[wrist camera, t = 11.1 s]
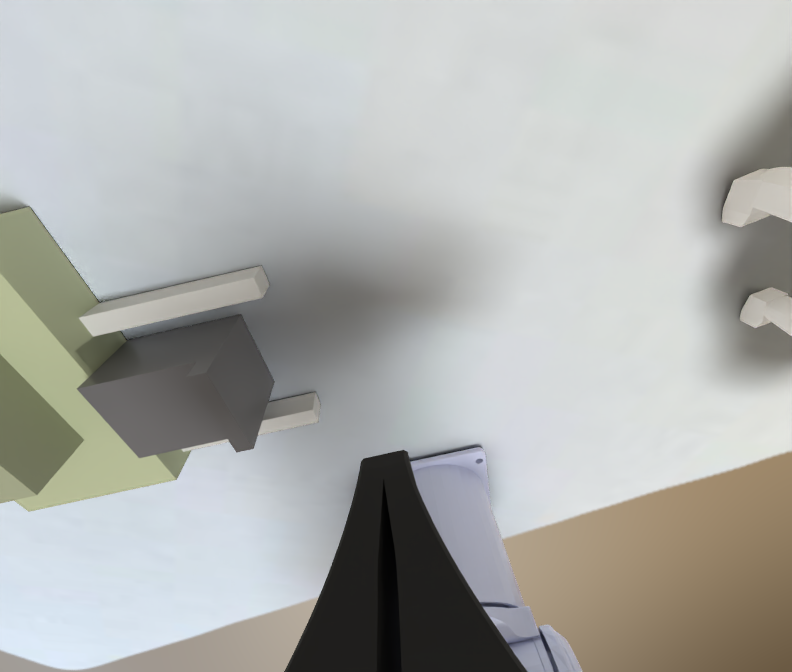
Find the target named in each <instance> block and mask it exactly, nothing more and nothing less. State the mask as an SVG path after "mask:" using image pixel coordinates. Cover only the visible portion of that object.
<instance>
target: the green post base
mask: <svg viewBox="0 0 792 672" xmlns="http://www.w3.org/2000/svg"><path fill="white" fill-rule="evenodd" d="M269 285H270V284H269V282H268V279H267V277H266V275H265V272H264V270H263V268H262V266H258V267H253V268H249V269H245V270H240V271H236V272H232V273H227V274H223V275H219V276H214V277H210V278H206V279H201V280H197V281H193V282H188V283H184V284H180V285H175V286H171V287H167V288H162V289H158V290H154V291H149V292H145V293H141V294H136V295H132V296H128V297H123V298H119V299H115V300H110V301H106V302H102V303H99V302H98V300H97V299H96V297H95V296H94V295H93V293H92V292H91V291H90V289H89V288H88V286H87V285H86V284H85V282H84V281H83V280H82V278H81V277H80V275H79V274H78V273H77V271H76V270H75V269H74V267H73V266H72V264H71V263H70V262H69V260H68V259H67V258H66V256H65V255H64V253H63V252H62V251H61V249H60V248H59V247H58V245H57V244H56V243H55V241H54V240H53V238H52V237H51V236H50V234H49V233H48V232H47V230H46V229H45V227H44V226H43V225H42V223H41V222H40V221H39V219H38V218H37V216H36V215H35V214H34V212H33V211H32V210H31V208H30V207H26V208H22V209H18V210H14V211H10V212H5V213H1V214H0V503H4V502H9V501H13V500H14V501H15V502H17V503H18V504H19V505H21V506H22V507H23V508H25V509H26V510H27V511H34V510H39V509H43V508H48V507H53V506H57V505H62V504H66V503H71V502H76V501H80V500H85V499H90V498H94V497H99V496H103V495H108V494H113V493H117V492H122V491H127V490H131V489H136V488H141V487H145V486H150V485H154V484H159V483H164V482H168V481H173V480H177V478H178V476H179V474H180V472H181V470H182V468H183V466H184V464H185V462H186V460H187V458H188V456H189V454H190V452H191V450H194V449H199V448H203V447H208V446H212V445H217V444H222V443H226V442H229V440H228V439H225V440H221V441H216V442H212V443H207V444H203V445H198V446H193V447H189V448H184V449H180V450H175V451H170V452H166V453H161V454H157V455H152V456H148V457H143V458H138V456H137V455H136V454H135V453H134V452H133V451H132V450H131V449H130V448H129V447H128V445H127V444H126V443H125V442H124V441H123V440H122V439H121V438H120V437H119V435H118V434H117V433H116V432H115V431H114V430H113V429H112V428H111V427H110V425H109V424H108V423H107V422H106V421H105V420H104V419H103V418H102V417H101V415H100V414H99V413H98V412H97V411H96V410H95V409H94V408H93V407H92V405H91V404H90V403H89V402H88V401H87V400H86V399H85V398H84V397H83V396H82V394H81V393H80V392H79V391H78V390H77V388H78V387H79V386H80V385H81V384H82V383H83V382H84V381H85V380H86V379H87V378H88V377H90V376H91V375H92V374H93V373H94V372H95V371H96V370H97V369H98V368H99V367H100V366H101V365H102V364H103V363H104V362H105V361H106V360H107V359H108V358H109V357H110V356H111V355H112V354H114V353H115V352H116V351H117V350H118V349H119V348H120V347H121V346H122V345H123V344H124V343H125V342H126V341H127V340H126V339H125V337H124V336H123V335H122V333H121V332H120V330H124V329H129V328H133V327H138V326H142V325H146V324H151V323H155V322H159V321H164V320H168V319H173V318H177V317H181V316H186V315H190V314H195V313H199V312H203V311H208V310H212V309H216V308H221V307H225V306H230V305H234V304H238V303H243V302H247V301H251V300H256V299H260V298H263V297H264V295H265V293H266V291H267V289H268V287H269ZM320 407H321V404H320V401H319V399H318V397H317V394H316V392H314V393H309V394H305V395H300V396H295V397H291V398H286V399H282V400H277V401H273V402H268V404H267V407H266V411H265V414H264V417H263V420H262V423H261V426H260V430H259V433H258V435H263V434H267V433H272V432H277V431H281V430H286V429H290V428H295V427H300V426H304V425H309V424H313V423H318V422H319V415H320Z"/></svg>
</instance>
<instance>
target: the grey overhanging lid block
mask: <svg viewBox="0 0 792 672" xmlns="http://www.w3.org/2000/svg"><path fill="white" fill-rule="evenodd" d="M273 385H274V380H273V378H272V376H271V374H270V372H269V370H268V368H267V366H266V364H265V362H264V360H263V358H262V356H261V354H260V352H259V350H258V348H257V346H256V344H255V342H254V340H253V338H252V336H251V334H250V332H249V330H248V328H247V326H246V324H245V322H244V320H243V318H242V316H241V314H240V315H235V316H231V317H227V318H222V319H218V320H214V321H209V322H205V323H200V324H196V325H192V326H187V327H183V328H178V329H174V330H170V331H165V332H161V333H156V334H152V335H148V336H143V337H139V338H134V339H130V340H127V341H126V342H125V343H124V344H123V345H122V346H121V347H120V348H119V349H118V350H117V351H116V352H115V353H114V354H112V355H111V356H110V357H109V358H108V359H107V360H106V361H105V362H104V363H103V364H102V365H101V366H100V367H99V368H98V369H97V370H96V371H95V372H94V373H93V374H92V375H91V376H90V377H88V378H87V379H86V380H85V381H84V382H83V383H82V384H81V385H80V386H79V387H78V388H77V390H78V391H79V392H80V393H81V394H82V396H83V397H84V398H85V399H86V400H87V401H88V402H89V403H90V404H91V405H92V407H93V408H94V409H95V410H96V411H97V412H98V413H99V414H100V415H101V417H102V418H103V419H104V420H105V421H106V422H107V423H108V424H109V425H110V427H111V428H112V429H113V430H114V431H115V432H116V433H117V434H118V435H119V437H120V438H121V439H122V440H123V441H124V442H125V443H126V444H127V445H128V447H129V448H130V449H131V450H132V451H133V452H134V453H135V454H136V455H137V456H138V458H143V457H148V456H152V455H157V454H161V453H166V452H170V451H175V450H180V449H184V448H189V447H193V446H198V445H203V444H207V443H212V442H216V441H221V440H225V439H228V440H229V442H230V443H231V445H232V446H233V448H234V449H235V451H236V452H240V451H245V450H250V449H254V445H255V442H256V439H257V436H258V433H259V430H260V426H261V423H262V420H263V417H264V414H265V411H266V407H267V404H268V401H269V398H270V395H271V392H272V388H273Z"/></svg>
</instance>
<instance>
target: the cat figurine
mask: <svg viewBox="0 0 792 672" xmlns="http://www.w3.org/2000/svg"><path fill="white" fill-rule="evenodd" d="M770 215H774V216H777V217H779V218H782V219H784V220H787V221H790V222H792V167H777V168H772V169H763V168H762V169H759V170H757V171H754V172H752V173H750V174H747V175H745V176H742V177H740V178H738V179H735V180H734V181H733V183H732V186H731V189H730V191H729V194H728V196H727V199H726V202H725V204H724V207H723V212H722V222H724V223H728V224H731V225H735V226H738V227H743V226H745V225H748V224H750V223H753V222H755V221H758V220H760V219H763V218H765V217H768V216H770ZM740 321H742V322H744V323H746V324H748V325H750V326H752V327H754V328H757V327H760V326H763V325H766V324H768V323H771V322H772V323H774V324H775V325H777V326H778V327H779V328H781V329H782V330H783V331H785V332H786V333H788V334H789V335H790V336H792V297H788V294H787V293H785V292H782V291H780V290H777V289H775V288H772V287H770V288H767V289H765V290H762V291H759V292H757V293H754V294H751V295H750V296H749V298H748V300H747V301H746V303H745V305H744V307H743V309H742V310H741V314H740Z"/></svg>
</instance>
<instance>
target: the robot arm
mask: <svg viewBox="0 0 792 672" xmlns="http://www.w3.org/2000/svg"><path fill="white" fill-rule="evenodd" d="M538 630H539V631H538ZM284 672H583V671H582V669H581V667H580V665H579V663H578V661H577V658H576V657H575V654H574V652H573V650H572V649H571V647H570V645H569V643H568V642H567V640H566V639H565V638H564V637H563V636H562V635H560V634H559V633H558V632H556V631H554V629H553V628H552V627H551V626H550V625H543V626H539V629H538V628H537V625H536V623H535V620H534V617H533V614H532V611H531V608H530V607H529V606H525V605H524V602H523V599H522V596H521V593H520V590H519V587H518V584H517V581H516V578H515V576H514V573H513V570H512V567H511V564H510V561H509V558H508V556H507V553H506V550H505V547H504V544H503V541H502V538H501V535H500V532H499V529H498V526H497V524H496V521H495V518H494V515H493V512H492V509H491V503H490V494H489V484H488V474H487V464H486V454H485V452H484V449H483V448H480V447H477V448H472V449H467V450H463V451H458V452H453V453H448V454H444V455H439V456H434V457H430V458H425V459H420V460H416V461H411V462H410V459H409V456H408V452H406V451H404V450H402V451H397V452H392V453H388V454H383V455H378V456H374V457H369V458H364V459H363V460H362V461H361V466H360V471H359V476H358V481H357V485H356V489H355V493H354V497H353V501H352V505H351V508H350V511H349V515H348V518H347V521H346V525H345V528H344V531H343V534H342V537H341V540H340V543H339V546H338V549H337V552H336V554H335V557H334V560H333V563H332V566H331V568H330V571H329V574H328V576H327V579H326V581H325V584H324V586H323V589H322V591H321V594H320V596H319V598H318V601H317V603H316V605H315V608H314V610H313V612H312V615H311V617H310V619H309V622H308V624H307V626H306V628H305V630H304V632H303V634H302V636H301V639H300V641H299V643H298V645H297V647H296V650H295V651H294V653H293V655H292V658H291V660H290V662H289V664H288V666H287V668H286V670H285V671H284Z"/></svg>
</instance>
